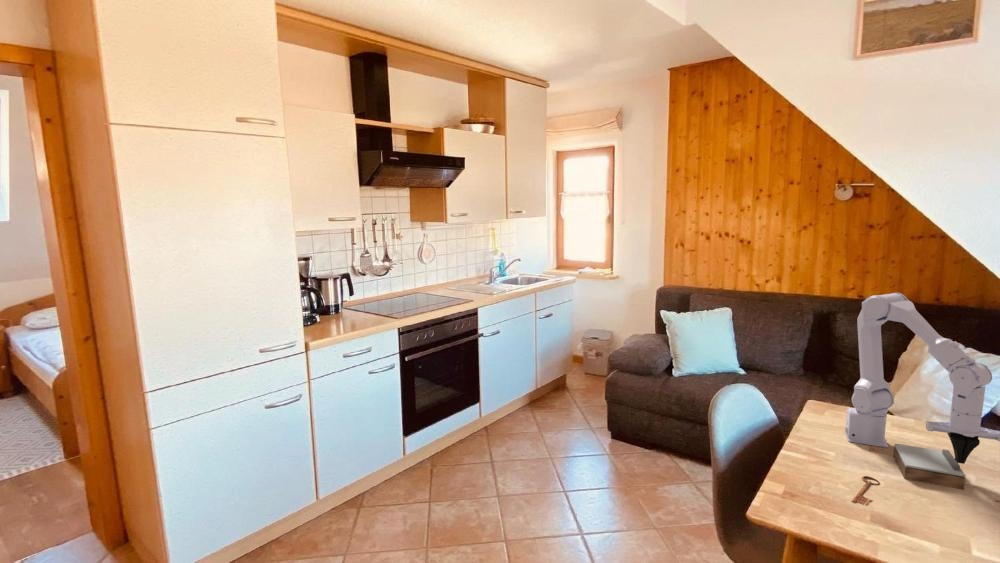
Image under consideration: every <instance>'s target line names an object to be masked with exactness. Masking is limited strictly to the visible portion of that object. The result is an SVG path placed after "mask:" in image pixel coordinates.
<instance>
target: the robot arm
mask: <svg viewBox="0 0 1000 563" xmlns="http://www.w3.org/2000/svg"><path fill="white" fill-rule="evenodd" d="M888 321H892V322H897V323H898V322H899V323H903V324H904V325H905V326H906V327H907V328H908V329H910V330H911V331H912V332H913V333H914V334H915V335H916V336H917V337H919V338H920V339H921V340H922V341H923V342H924V343H925V344H926V345H927V346H928V348H927V351H928V353H929V354H930V355H931V356H932V357H933V358H934V359H935V360H936V361H937V362H938V363H939V364H940V366H942V367H943V369H945V371H947V372H948V373H949V374H948V377H949V380H950V382H951V384H952V386H953V388H952V390H953V391H952V398H951V405H950V414H949V419H948V421H926V422H925V429H926V430H927V431H928V432H931V433H932V432H938V433H939V432H940V433H944V434H945V433H947V435H948V437H949V440H950V442H951V445H952V449H953V452H954V454H953V455H954V459H955V460H956V461H957V463H958V464H962V465H965V463H966V461H967V459H968V457H969V456H970V454H971V453H972V452H973V450H974V449H975V448H977V447H979V445H980V443H981V441H980V439H979V438H981V439H987V440H988V439H989V440H996V441H997V442H1000V430H995V429H990V428H986V427H982V426H981V423H982V415H983V410H984V400H985V394H986V393H985V392H986V386H987V385H989V384H990V383H991V382H992V380H993V374H992V371H991V370H990V369H989V367H988V366H987V365H986V364H984V363H981V362H977V361H976V359H974V358H972V357H971V356H969V355H968V354H967V353H966V352H965V351H964V350H963V349H961V347H960V346H961V344H960V343H959V342H957V341H956V340H955V341H953V339H951V338H945V337H942V336H941V335H940V334H939V333H938V332H937V331H936V330H935V329H934V328H933V326H932V325H931V324H930V323H929V322H928V321H927V320H926V319H925V317H923V315H921V313H919V311H917V309H916V307H915V305H914V303H913V302H912V301H910V300H909V298H907V297H906V296H905V295H904V294H902V293H901V292H891V293H887V294H886V293H885V294H879V295H877V294H875V295H871V296H868V297H867V298H865V300H863V301H861V310H860V312H859V314H858V316H857V321H856V322H857V340H858V359H859V374H860V378H859V380H858V381H857V382H856V384H855V385H854V386H853V390H854V391H853V393H852V396H851V403H852V405H853V408H851V407H850V408H847V410H846V416H845V418H846V419H845V427H844V432H845V435H846V438H847V441H848V442H850V443H857V444H863V445H869V446H876V447H881V448H889V445H888V442H887V441H886V439H885V437H886V436H885V435H886V426H887V416H888V412H889V408H892V406H893V405H894V402H895V398H894V394H893V393H892V391H891V386H890V384H889V383H888V382H887V381H886V380H885V378H884V377H885V376H884V360H883V345H882V344H883V343H882V342H883V340H882V325H884V324H885V323H886V322H888Z"/></svg>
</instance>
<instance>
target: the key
mask: <svg viewBox="0 0 1000 563" xmlns="http://www.w3.org/2000/svg"><path fill="white" fill-rule="evenodd" d="M868 479H870V480H868ZM861 480H862V481H863V482H865V484H864V485H863V487H862V488H861V489H860V490H859V492H857V494H856V495H855V496H854V497H853V498H852V499H851V503H854V504H860V505H862V506H866V507H868V506H869V505H870V504H871V503H873V502H874V500H873V499H869V498H868V497H865V496H863V495H864V494H865V492H866V491H867V490H868V489H869V487H870V486H880V485H881V483H880V481H879V480H877V479H875V478H874V477H871V476H868V475H867V476H866V475H862V476H861ZM871 480H872V481H874V482H872V481H871ZM875 482H876V483H875Z"/></svg>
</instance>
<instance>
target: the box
mask: <svg viewBox="0 0 1000 563" xmlns="http://www.w3.org/2000/svg"><path fill="white" fill-rule="evenodd" d="M892 457H893V459H894V461H895V463H896V466H897V467H898V469H899V471H900V473H901V476H902V477H903V479H905V480H910V481H915V482H922V483H926V484H930V485H931V484H933V485H938V486H941V487H942V486H943V487H949V488H954V489H958V490H959V489H960V490H965V481H966V476H965V477H963V476H957V475H951V474H945V473H939V472H934V471H928V470H922V469H916V468H910V467H905V465H904V463H903V461H902V459H901V457H900V455H899V453H898V451H897V449H896V448H895V446H893V454H892Z"/></svg>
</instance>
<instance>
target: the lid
mask: <svg viewBox="0 0 1000 563" xmlns="http://www.w3.org/2000/svg"><path fill="white" fill-rule="evenodd" d="M893 444H894V446H895V448H896V449H897V451H898V453H899V455H900V457H901V459H902V461H903V463H904V465H905V467H910V468H916V469H922V470H928V471H934V472H939V473H945V474H951V475H957V476H963V477H965V478H966V474H965V473H964V471H963V469H961V465H960V463H957V461H956V460H955V456H954V455H952V453H951V452H950V451H949V450H950V449H942V450H939V449H933V448H926V447H921V446H920V447H919V446H913V445H907V444H902V443H893ZM894 446H893V447H894Z"/></svg>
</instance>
